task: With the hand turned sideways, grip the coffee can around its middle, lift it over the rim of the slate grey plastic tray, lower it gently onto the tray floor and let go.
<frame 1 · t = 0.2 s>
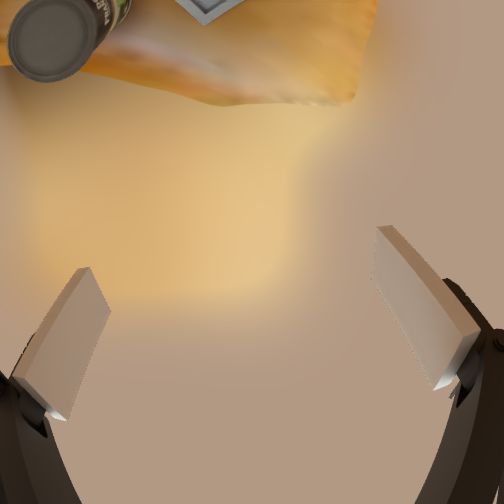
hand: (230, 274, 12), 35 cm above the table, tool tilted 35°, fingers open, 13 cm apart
coffee can: (95, 3, 21), on the table
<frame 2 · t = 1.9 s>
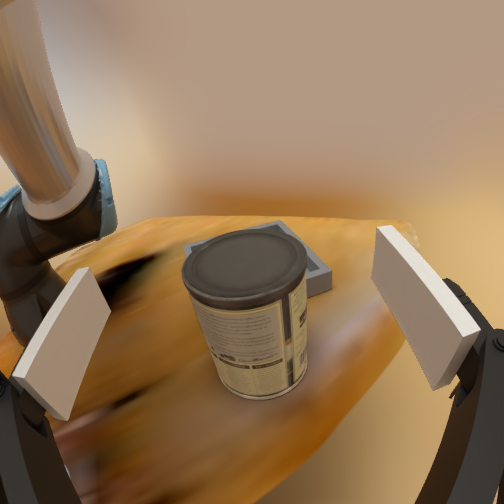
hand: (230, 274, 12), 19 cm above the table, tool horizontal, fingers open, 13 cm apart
coffee can: (261, 363, 31), on the table
tray: (250, 274, 46), on the table
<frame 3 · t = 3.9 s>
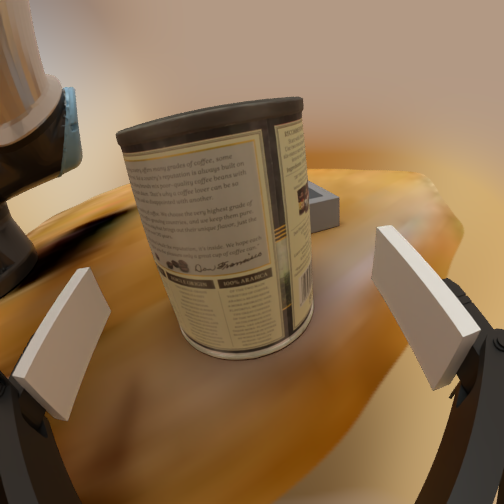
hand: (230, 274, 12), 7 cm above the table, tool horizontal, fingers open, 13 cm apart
coffee can: (244, 309, 21), on the table
tray: (236, 215, 36), on the table
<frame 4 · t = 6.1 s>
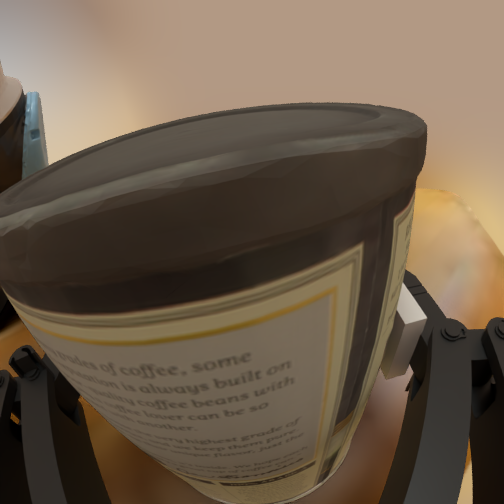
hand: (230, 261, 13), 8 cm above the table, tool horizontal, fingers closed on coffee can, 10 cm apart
coffee can: (256, 424, 13), on the table, touching gripper
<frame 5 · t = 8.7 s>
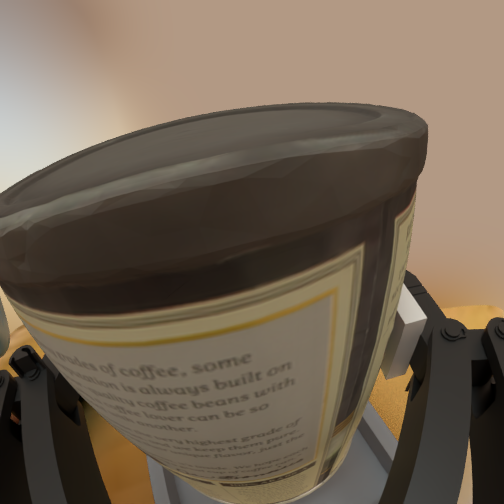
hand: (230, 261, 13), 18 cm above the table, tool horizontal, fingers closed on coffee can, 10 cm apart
coffee can: (256, 424, 13), point 10 cm above the table, touching gripper
tray: (268, 463, 19), on the table
when the fingers open (10 cm above the table, at t = 11.3 s): coffee can drops 1 cm, resting on tray.
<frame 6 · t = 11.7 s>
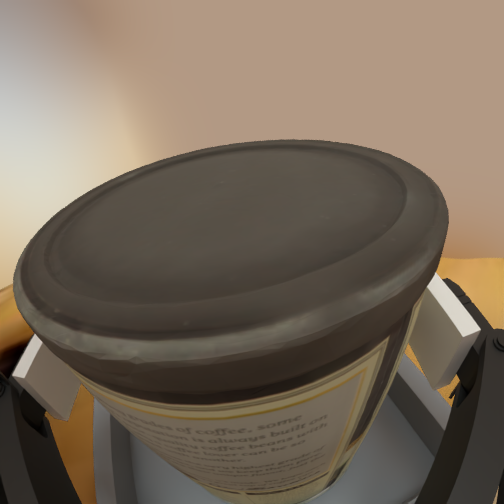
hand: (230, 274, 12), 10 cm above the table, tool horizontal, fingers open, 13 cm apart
coffee can: (268, 433, 14), point 1 cm above the table, touching tray
tray: (260, 437, 14), on the table
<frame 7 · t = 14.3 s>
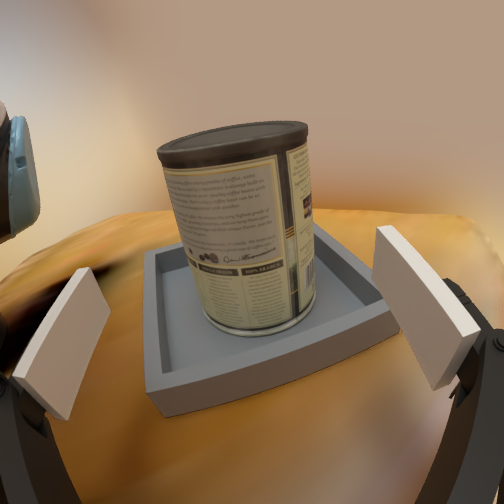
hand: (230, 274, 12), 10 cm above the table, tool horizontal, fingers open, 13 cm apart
coffee can: (258, 297, 25), point 1 cm above the table, touching tray
tray: (253, 302, 26), on the table
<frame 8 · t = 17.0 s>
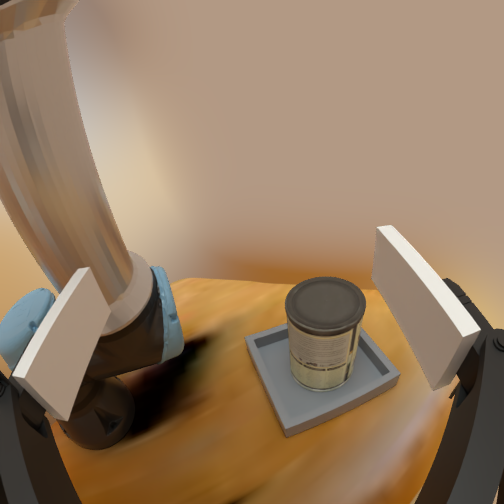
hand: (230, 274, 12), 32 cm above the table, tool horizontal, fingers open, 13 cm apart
coffee can: (321, 366, 42), point 1 cm above the table, touching tray
tray: (318, 369, 42), on the table
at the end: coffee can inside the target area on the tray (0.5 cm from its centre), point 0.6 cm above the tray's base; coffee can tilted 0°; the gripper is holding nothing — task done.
